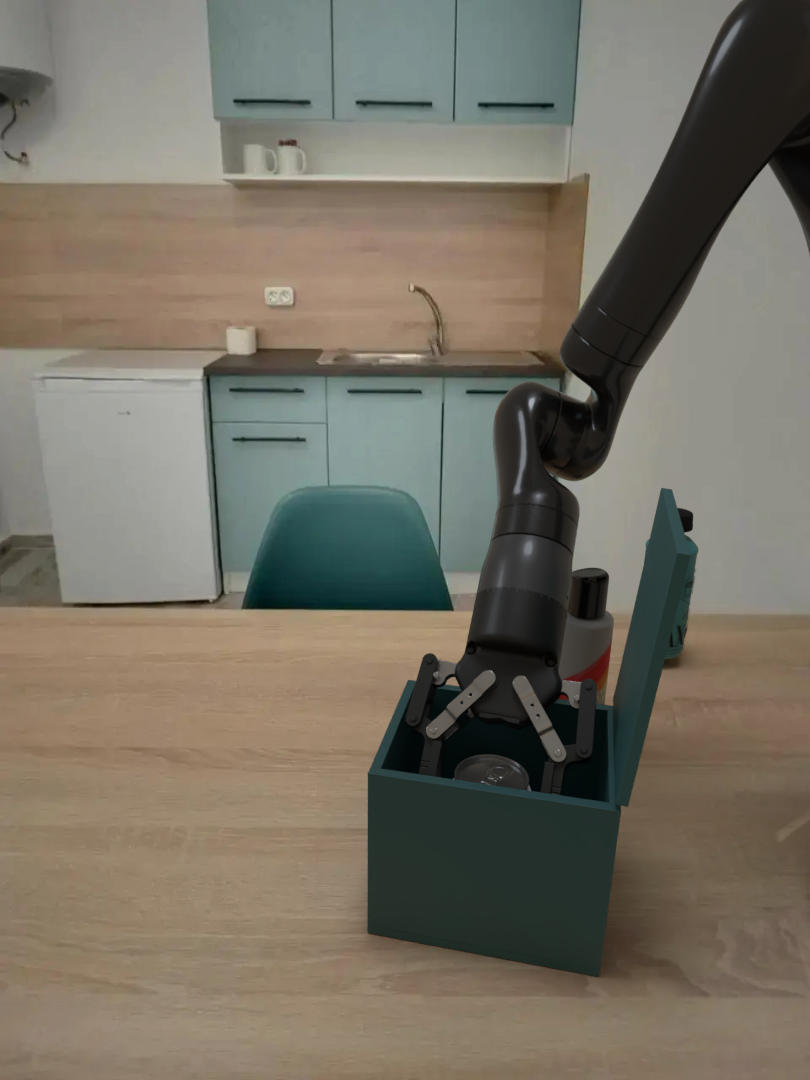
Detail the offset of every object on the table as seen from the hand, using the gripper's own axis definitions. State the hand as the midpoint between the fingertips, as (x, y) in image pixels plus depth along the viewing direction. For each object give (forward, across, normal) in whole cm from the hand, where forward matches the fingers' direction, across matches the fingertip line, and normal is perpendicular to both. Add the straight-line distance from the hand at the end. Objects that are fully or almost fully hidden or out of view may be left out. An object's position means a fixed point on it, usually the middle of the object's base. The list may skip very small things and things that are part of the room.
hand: (485, 804), depth 61 cm
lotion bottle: (-11, +4, +28) cm, 30 cm away
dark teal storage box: (+5, 0, +11) cm, 12 cm away
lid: (-13, +9, -6) cm, 17 cm away
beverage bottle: (-27, +12, +44) cm, 53 cm away
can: (+6, 0, +9) cm, 11 cm away
